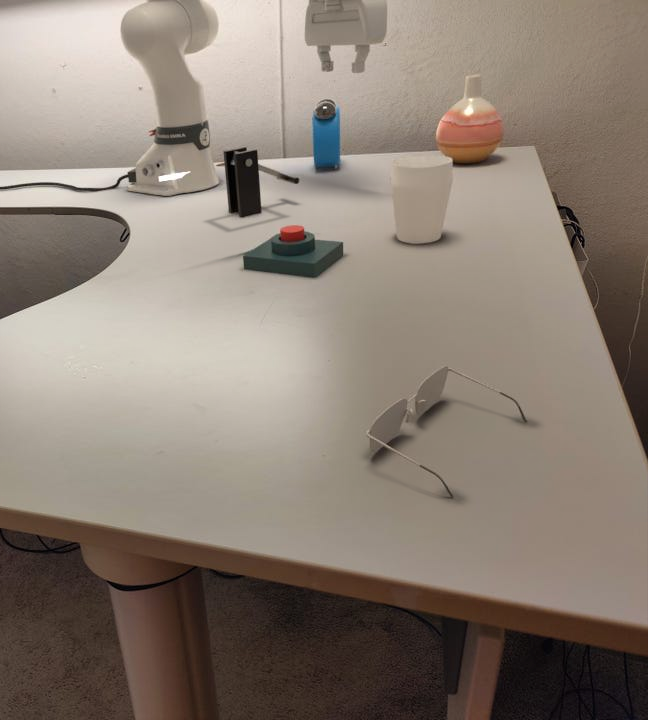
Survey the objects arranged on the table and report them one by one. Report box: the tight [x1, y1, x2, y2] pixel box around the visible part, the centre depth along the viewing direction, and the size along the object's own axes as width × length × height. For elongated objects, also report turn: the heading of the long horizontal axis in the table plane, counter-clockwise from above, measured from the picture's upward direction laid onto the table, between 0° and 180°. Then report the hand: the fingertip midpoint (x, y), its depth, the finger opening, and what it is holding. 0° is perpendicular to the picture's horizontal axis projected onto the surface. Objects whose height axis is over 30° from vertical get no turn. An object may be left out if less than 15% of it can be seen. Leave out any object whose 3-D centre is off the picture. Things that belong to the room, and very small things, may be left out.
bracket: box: [223, 146, 262, 219], centre depth 124 cm, size 12×9×13 cm
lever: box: [230, 151, 300, 185], centre depth 124 cm, size 13×6×2 cm, turn 115°
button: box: [279, 224, 305, 242], centre depth 101 cm, size 4×4×2 cm
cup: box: [390, 154, 454, 245], centre depth 103 cm, size 9×9×12 cm
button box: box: [242, 230, 344, 278], centre depth 102 cm, size 12×10×4 cm
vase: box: [435, 74, 505, 165], centre depth 144 cm, size 14×14×18 cm
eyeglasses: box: [365, 365, 528, 498], centre depth 57 cm, size 14×8×4 cm, turn 133°
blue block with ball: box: [311, 97, 341, 170], centre depth 155 cm, size 13×6×15 cm, turn 168°
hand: (342, 72), depth 124 cm, fingers open, 8 cm apart
